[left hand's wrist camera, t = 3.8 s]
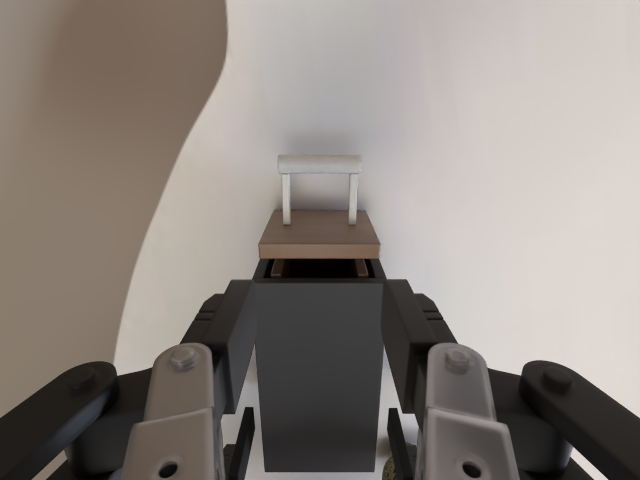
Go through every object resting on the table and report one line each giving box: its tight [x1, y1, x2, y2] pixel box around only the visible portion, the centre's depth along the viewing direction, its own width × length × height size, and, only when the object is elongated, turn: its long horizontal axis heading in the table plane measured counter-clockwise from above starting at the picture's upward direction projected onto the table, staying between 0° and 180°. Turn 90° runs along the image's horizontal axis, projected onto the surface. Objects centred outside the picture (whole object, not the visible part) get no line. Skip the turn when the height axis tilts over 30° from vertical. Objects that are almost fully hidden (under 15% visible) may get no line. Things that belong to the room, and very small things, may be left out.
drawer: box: [258, 155, 381, 278], centre depth 32 cm, size 24×9×9 cm, turn 0°
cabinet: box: [252, 259, 387, 472], centre depth 34 cm, size 20×10×11 cm, turn 0°
